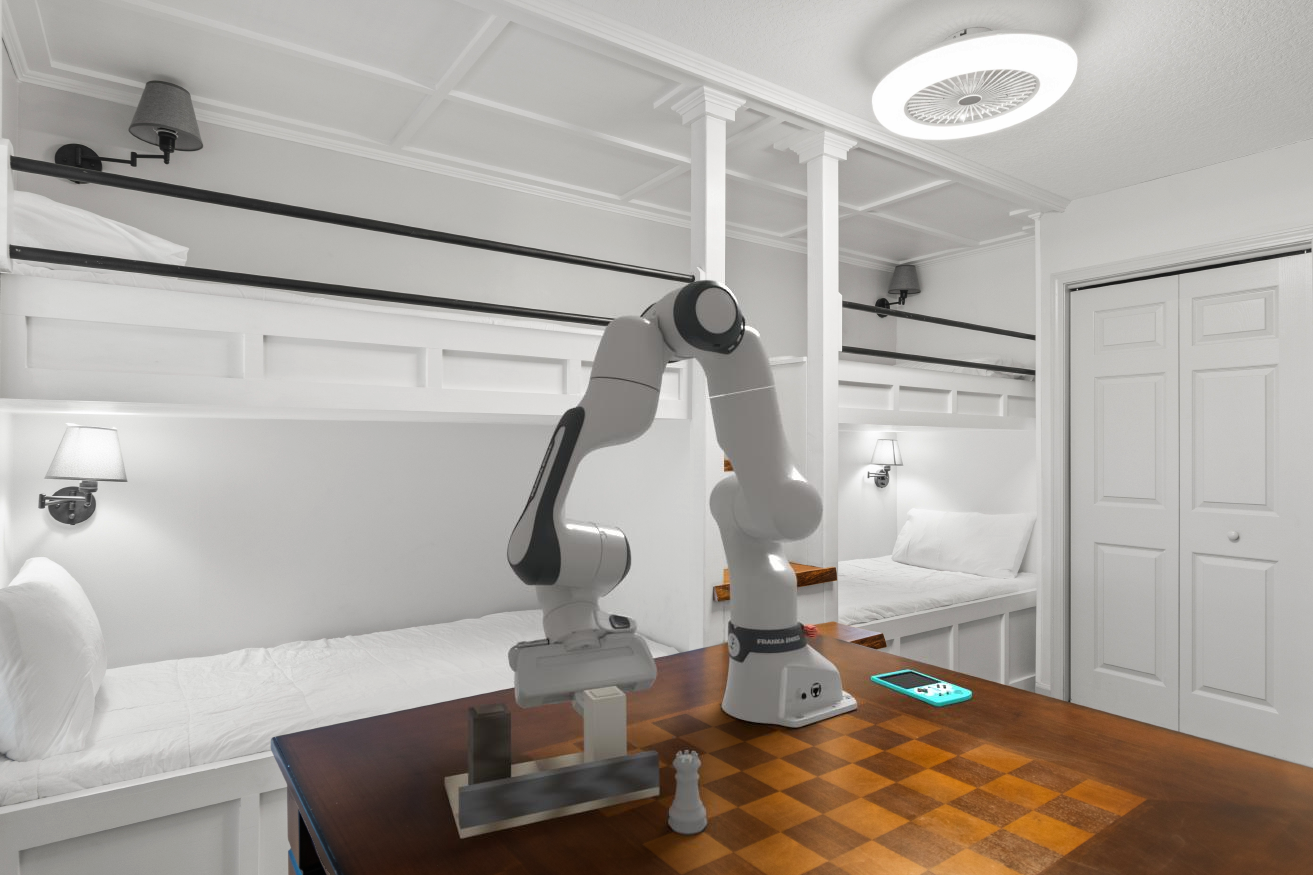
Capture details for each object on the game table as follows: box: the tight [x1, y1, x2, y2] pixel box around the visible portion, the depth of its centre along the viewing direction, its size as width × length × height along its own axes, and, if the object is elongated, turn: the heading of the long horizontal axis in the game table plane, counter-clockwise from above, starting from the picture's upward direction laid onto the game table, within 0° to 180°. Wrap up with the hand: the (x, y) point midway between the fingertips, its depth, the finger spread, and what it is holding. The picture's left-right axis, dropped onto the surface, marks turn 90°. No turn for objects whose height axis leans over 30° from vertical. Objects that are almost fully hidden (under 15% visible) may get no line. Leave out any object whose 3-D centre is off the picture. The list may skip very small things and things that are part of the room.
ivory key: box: [583, 686, 628, 763], centre depth 93 cm, size 4×4×10 cm
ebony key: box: [467, 702, 512, 785], centre depth 87 cm, size 4×4×10 cm
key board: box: [444, 749, 660, 839], centre depth 89 cm, size 24×14×5 cm, turn 114°
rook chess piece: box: [667, 749, 708, 836], centre depth 80 cm, size 4×4×8 cm
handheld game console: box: [870, 669, 973, 708], centre depth 127 cm, size 10×16×1 cm, turn 26°
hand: (598, 725), depth 95 cm, fingers closed, pressing on ivory key
